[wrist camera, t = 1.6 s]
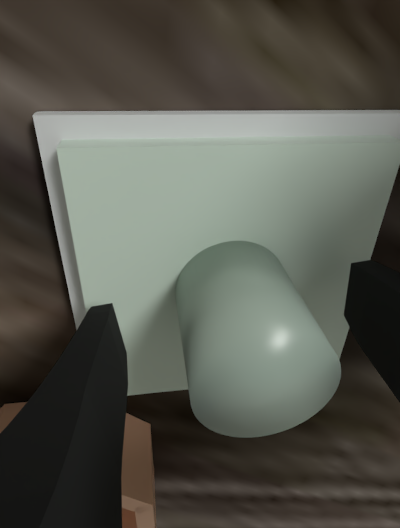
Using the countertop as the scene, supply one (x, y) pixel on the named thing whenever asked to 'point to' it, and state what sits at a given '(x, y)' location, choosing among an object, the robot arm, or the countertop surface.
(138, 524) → the bowl
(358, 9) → the countertop surface
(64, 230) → the mat
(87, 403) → the robot arm
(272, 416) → the lid
